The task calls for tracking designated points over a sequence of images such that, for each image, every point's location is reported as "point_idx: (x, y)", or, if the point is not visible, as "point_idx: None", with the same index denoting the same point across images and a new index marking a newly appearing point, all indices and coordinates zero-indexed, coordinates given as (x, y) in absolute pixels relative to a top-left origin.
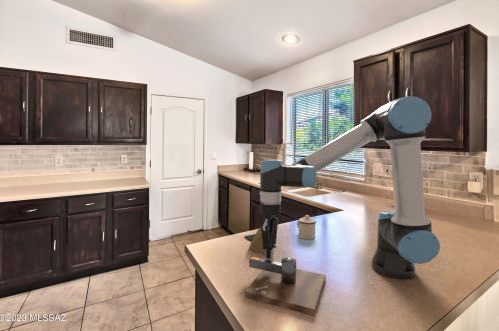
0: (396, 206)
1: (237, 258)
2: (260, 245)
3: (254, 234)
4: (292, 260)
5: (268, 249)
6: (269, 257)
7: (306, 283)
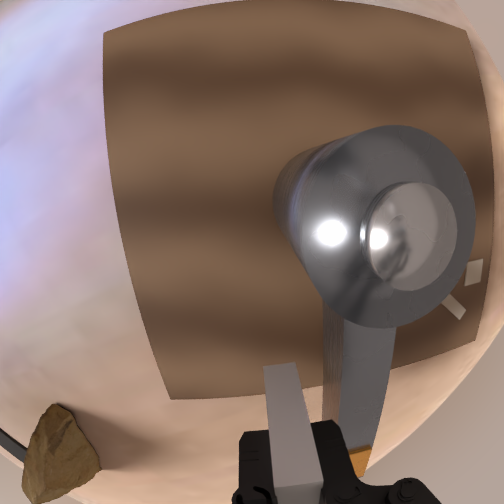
0: None
1: (192, 481)
2: (70, 459)
3: (22, 461)
4: (394, 183)
5: (417, 486)
6: (340, 430)
7: (286, 79)
